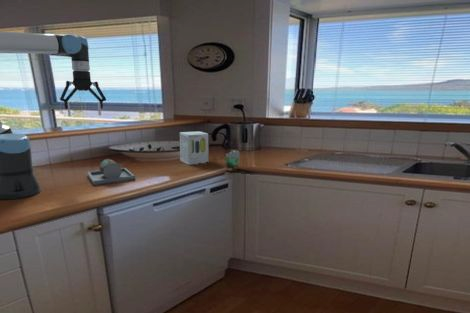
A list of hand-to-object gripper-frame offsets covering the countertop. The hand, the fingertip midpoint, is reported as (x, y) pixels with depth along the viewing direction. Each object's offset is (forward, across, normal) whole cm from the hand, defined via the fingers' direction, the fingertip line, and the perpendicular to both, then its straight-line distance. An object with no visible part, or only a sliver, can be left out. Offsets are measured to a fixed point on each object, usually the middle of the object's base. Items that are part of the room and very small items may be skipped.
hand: (85, 115), depth 152 cm
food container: (+29, +67, -31) cm, 80 cm away
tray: (+29, +7, -16) cm, 34 cm away
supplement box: (+29, +57, -3) cm, 64 cm away
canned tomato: (+24, +7, -23) cm, 34 cm away
